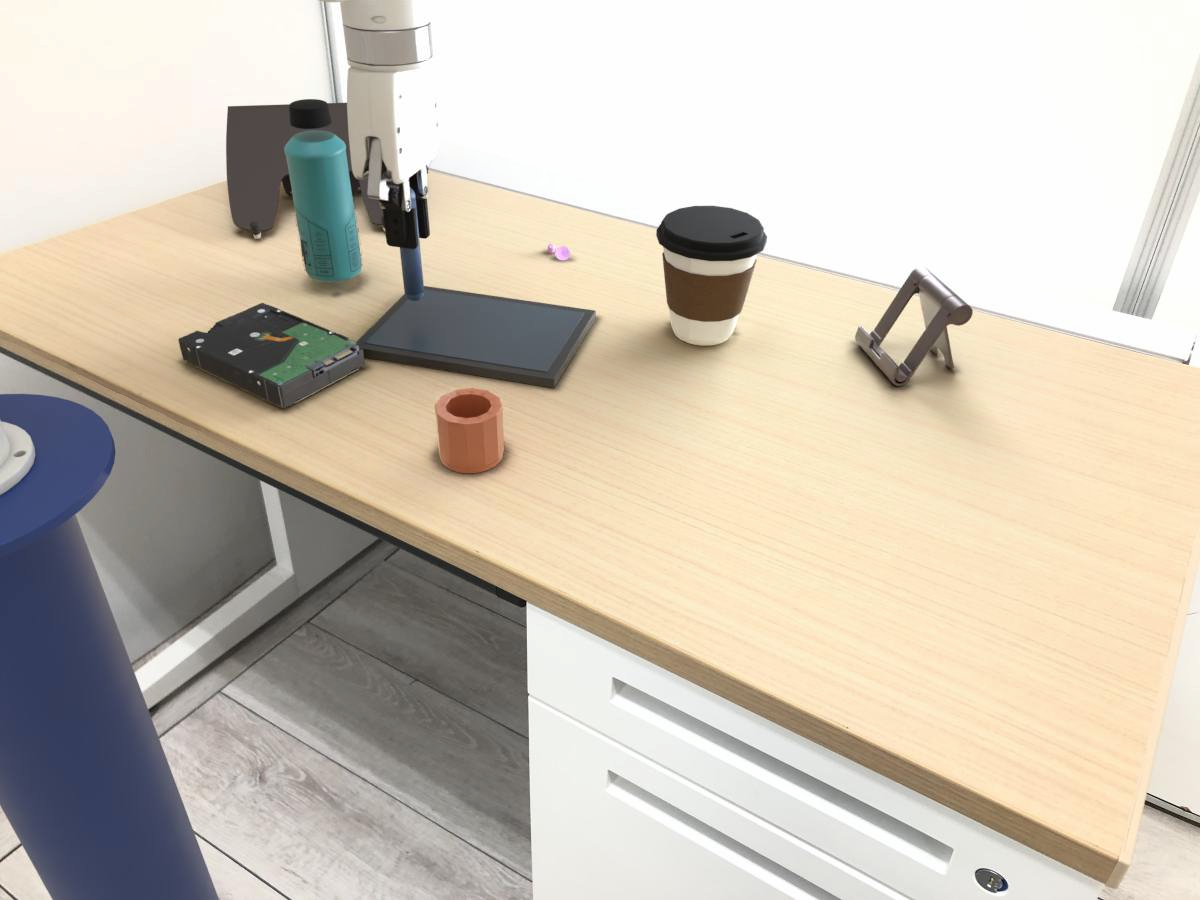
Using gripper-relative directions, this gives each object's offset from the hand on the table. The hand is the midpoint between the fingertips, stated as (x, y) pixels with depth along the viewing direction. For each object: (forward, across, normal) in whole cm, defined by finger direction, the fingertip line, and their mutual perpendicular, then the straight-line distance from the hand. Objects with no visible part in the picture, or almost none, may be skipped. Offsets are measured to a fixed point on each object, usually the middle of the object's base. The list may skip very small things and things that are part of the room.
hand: (408, 240), depth 95 cm
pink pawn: (+10, -22, +9) cm, 26 cm away
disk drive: (+10, +12, -10) cm, 18 cm away
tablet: (+10, 0, +7) cm, 12 cm away
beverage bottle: (+10, -7, -13) cm, 18 cm away
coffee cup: (+10, -8, +29) cm, 32 cm away
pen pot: (+10, +20, +14) cm, 26 cm away
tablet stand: (+10, -8, +50) cm, 51 cm away
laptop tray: (+10, -27, -25) cm, 38 cm away
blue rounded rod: (+7, 0, 0) cm, 7 cm away
